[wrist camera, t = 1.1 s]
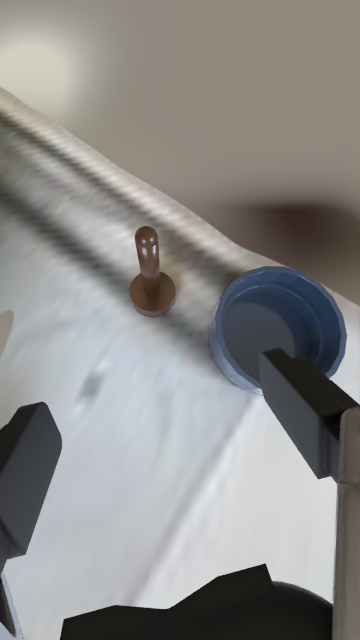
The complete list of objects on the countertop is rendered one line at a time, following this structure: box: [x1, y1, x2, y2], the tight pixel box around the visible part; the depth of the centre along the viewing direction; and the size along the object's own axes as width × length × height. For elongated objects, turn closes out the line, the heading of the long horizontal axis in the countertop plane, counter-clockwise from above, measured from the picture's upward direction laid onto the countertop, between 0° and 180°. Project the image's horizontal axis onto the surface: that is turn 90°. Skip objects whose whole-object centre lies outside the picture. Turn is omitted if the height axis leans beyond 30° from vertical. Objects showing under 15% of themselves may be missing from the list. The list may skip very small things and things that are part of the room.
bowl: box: [208, 266, 347, 395], centre depth 30 cm, size 13×13×6 cm
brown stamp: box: [130, 226, 175, 317], centre depth 27 cm, size 5×5×13 cm
